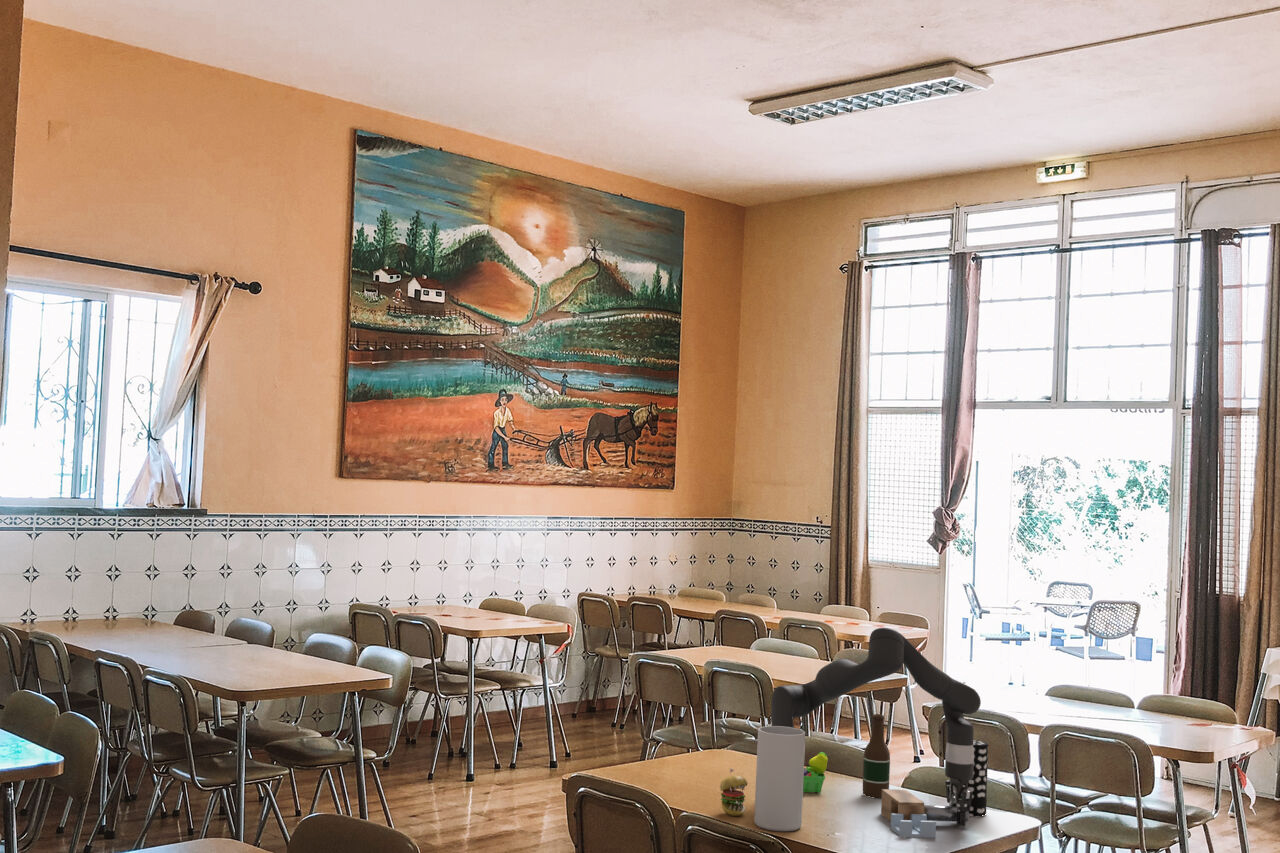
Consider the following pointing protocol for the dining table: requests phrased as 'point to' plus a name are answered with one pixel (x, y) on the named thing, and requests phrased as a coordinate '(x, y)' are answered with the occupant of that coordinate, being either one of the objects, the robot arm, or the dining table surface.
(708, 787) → the dining table surface
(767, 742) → the cylinder vase
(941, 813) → the axle
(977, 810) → the spotted tube
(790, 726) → the robot arm
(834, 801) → the dining table surface
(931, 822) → the cradle
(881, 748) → the beer bottle
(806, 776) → the fruit basket
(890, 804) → the beam
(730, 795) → the hamburger
